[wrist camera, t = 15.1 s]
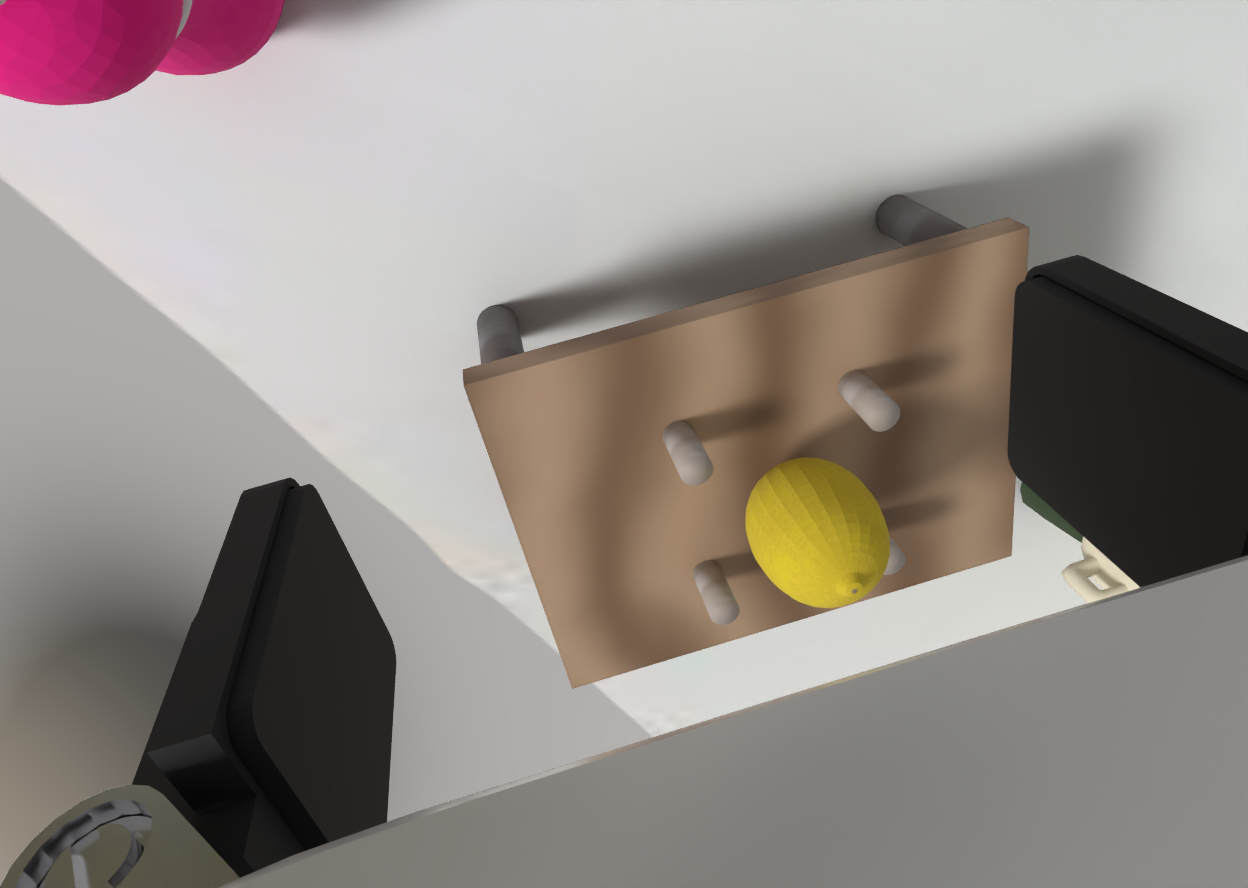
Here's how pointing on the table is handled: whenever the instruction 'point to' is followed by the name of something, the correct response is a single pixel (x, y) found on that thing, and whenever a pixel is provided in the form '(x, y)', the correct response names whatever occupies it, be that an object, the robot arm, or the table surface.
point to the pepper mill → (122, 43)
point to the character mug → (1093, 558)
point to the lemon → (817, 532)
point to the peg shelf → (756, 437)
